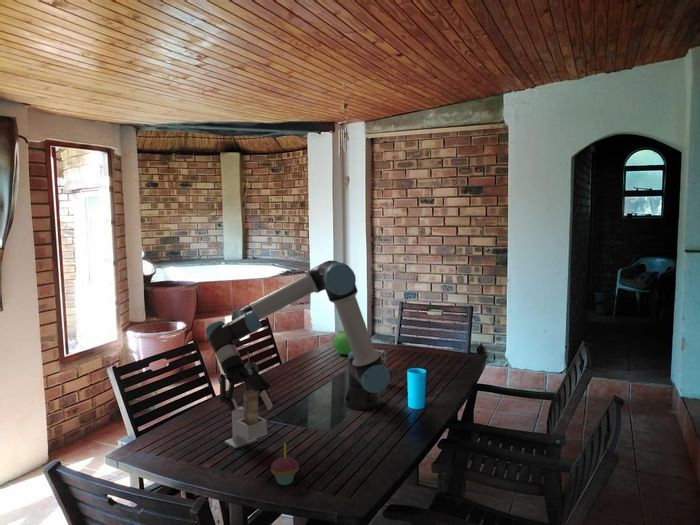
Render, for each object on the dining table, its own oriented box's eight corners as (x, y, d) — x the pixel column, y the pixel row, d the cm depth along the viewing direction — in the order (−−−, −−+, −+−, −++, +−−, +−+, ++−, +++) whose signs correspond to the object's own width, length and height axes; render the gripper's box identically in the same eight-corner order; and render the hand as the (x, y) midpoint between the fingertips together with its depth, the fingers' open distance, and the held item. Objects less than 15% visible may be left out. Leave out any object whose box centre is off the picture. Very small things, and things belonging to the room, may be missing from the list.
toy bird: (331, 357, 299) (330, 331, 297) (336, 349, 315) (336, 325, 314) (362, 358, 296) (362, 332, 294) (366, 351, 312) (366, 326, 311)
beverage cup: (255, 399, 232) (255, 354, 230) (240, 398, 233) (239, 354, 231) (262, 393, 239) (261, 350, 237) (246, 392, 240) (245, 349, 239)
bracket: (224, 442, 188) (223, 410, 187) (246, 435, 194) (245, 403, 193) (247, 456, 178) (246, 421, 177) (269, 447, 184) (268, 414, 183)
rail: (244, 431, 183) (243, 392, 182) (252, 428, 186) (252, 389, 184) (250, 434, 181) (249, 394, 179) (258, 431, 183) (257, 392, 182)
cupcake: (272, 475, 165) (271, 437, 164) (299, 473, 166) (298, 436, 164) (270, 489, 156) (269, 450, 155) (299, 487, 157) (298, 449, 156)
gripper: (254, 359, 201) (279, 409, 191) (196, 373, 184) (220, 428, 174) (262, 348, 196) (288, 398, 187) (203, 361, 179) (228, 417, 170)
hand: (255, 412), depth 180 cm, fingers open, 12 cm apart
